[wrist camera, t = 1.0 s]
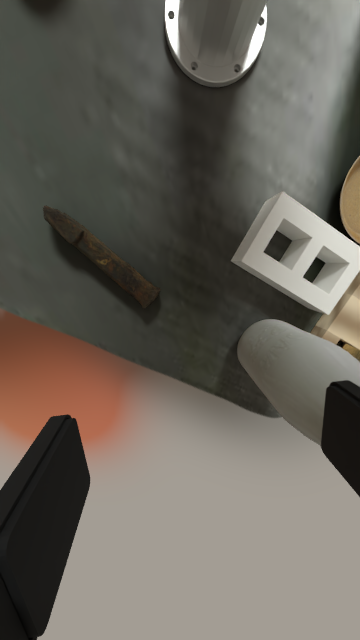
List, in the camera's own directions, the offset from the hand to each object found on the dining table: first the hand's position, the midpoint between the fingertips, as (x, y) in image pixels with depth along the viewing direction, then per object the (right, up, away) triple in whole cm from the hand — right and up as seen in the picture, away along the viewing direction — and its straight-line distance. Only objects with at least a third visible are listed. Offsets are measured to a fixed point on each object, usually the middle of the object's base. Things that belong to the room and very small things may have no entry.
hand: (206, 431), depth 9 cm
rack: (+16, +14, +29) cm, 36 cm away
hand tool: (-12, +13, +27) cm, 32 cm away
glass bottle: (+13, +1, +32) cm, 34 cm away
